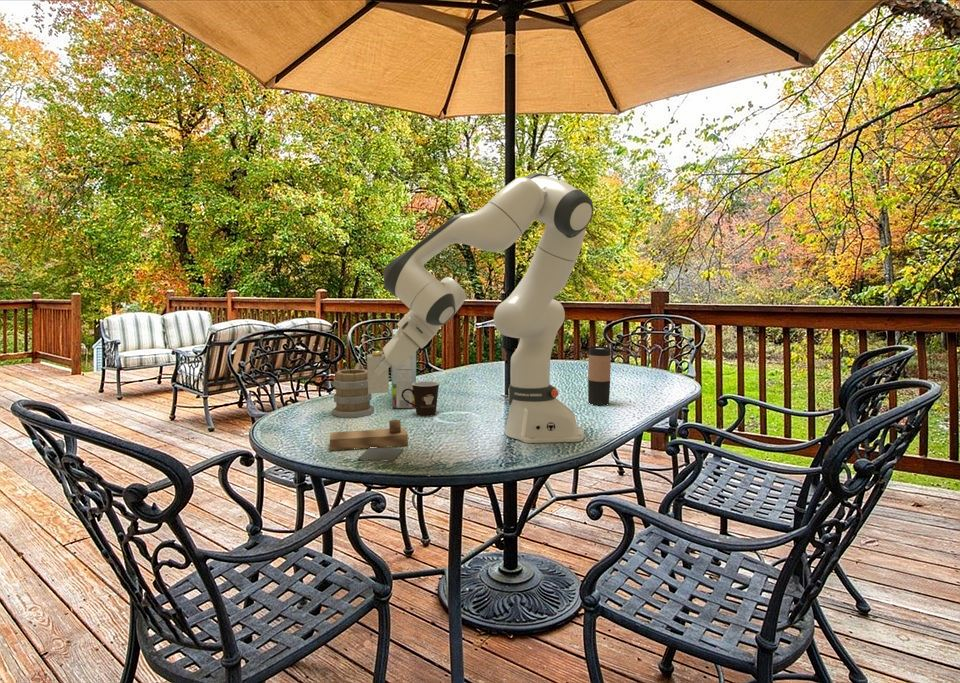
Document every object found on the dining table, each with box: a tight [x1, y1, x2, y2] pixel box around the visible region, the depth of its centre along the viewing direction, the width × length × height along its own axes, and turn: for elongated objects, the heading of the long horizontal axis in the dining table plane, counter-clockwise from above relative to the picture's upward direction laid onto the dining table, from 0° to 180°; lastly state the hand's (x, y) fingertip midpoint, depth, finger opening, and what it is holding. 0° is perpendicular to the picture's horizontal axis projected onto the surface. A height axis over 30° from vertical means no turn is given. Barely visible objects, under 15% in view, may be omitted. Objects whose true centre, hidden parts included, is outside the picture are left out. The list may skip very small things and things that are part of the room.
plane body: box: [329, 419, 409, 451], centre depth 149 cm, size 20×7×6 cm, turn 103°
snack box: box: [391, 328, 417, 409], centre depth 199 cm, size 22×9×26 cm, turn 9°
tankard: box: [331, 362, 375, 419], centre depth 187 cm, size 20×13×15 cm, turn 179°
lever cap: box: [366, 350, 390, 394], centre depth 139 cm, size 5×5×10 cm
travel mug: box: [587, 345, 612, 406], centre depth 196 cm, size 8×8×20 cm
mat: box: [357, 447, 404, 462], centre depth 141 cm, size 9×9×1 cm
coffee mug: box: [402, 380, 440, 417], centre depth 183 cm, size 12×9×10 cm
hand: (375, 371), depth 139 cm, fingers closed on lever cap, 5 cm apart
